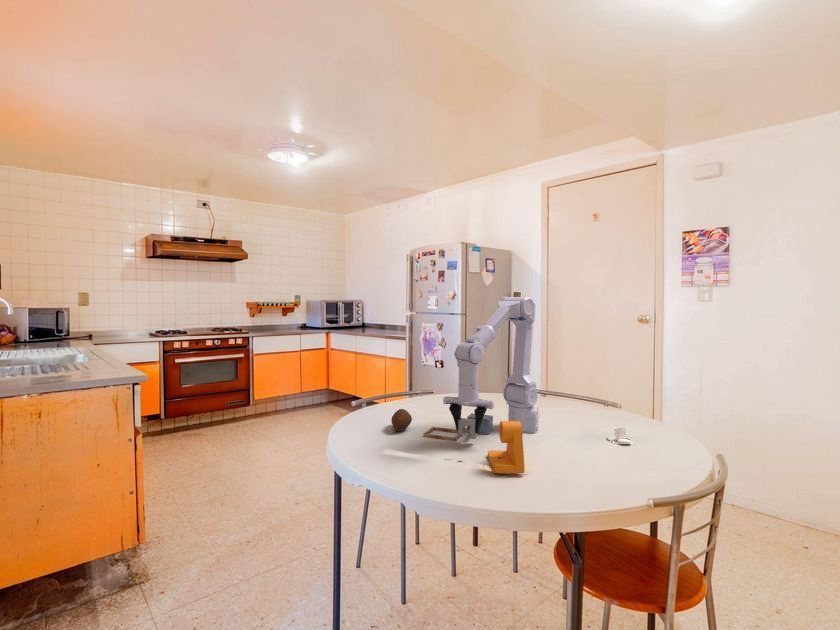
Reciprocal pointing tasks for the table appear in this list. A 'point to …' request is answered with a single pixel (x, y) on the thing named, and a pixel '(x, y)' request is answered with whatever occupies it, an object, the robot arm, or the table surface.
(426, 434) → the tray
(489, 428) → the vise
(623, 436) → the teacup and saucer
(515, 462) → the bracket
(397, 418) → the potato
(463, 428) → the block
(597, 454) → the table surface
